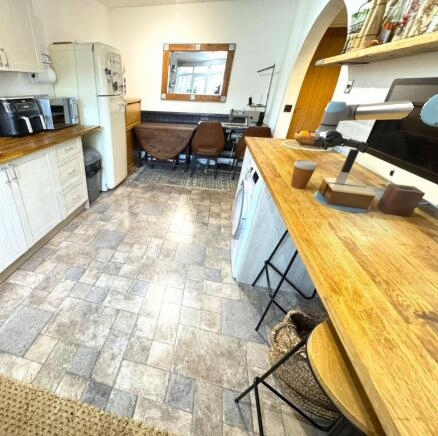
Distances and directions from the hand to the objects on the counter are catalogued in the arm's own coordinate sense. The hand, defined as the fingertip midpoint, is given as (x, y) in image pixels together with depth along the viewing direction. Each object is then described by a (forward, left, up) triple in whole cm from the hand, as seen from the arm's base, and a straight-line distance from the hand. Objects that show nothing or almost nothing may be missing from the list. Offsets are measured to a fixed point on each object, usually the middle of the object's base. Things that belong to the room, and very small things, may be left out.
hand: (345, 148), depth 100 cm
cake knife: (-8, +4, -20) cm, 21 cm away
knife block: (-19, -13, -20) cm, 31 cm away
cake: (-9, +1, -20) cm, 22 cm away
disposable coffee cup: (+8, +9, -20) cm, 24 cm away
